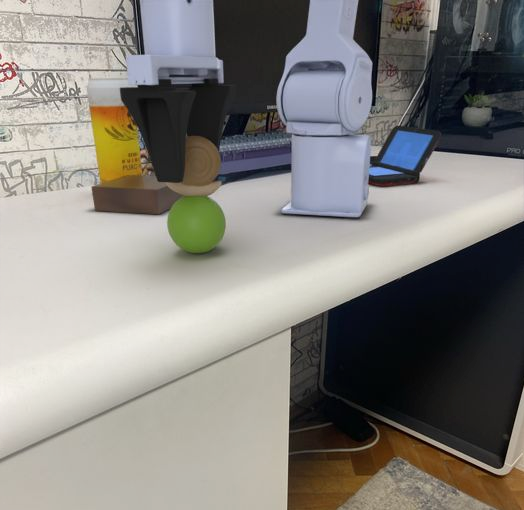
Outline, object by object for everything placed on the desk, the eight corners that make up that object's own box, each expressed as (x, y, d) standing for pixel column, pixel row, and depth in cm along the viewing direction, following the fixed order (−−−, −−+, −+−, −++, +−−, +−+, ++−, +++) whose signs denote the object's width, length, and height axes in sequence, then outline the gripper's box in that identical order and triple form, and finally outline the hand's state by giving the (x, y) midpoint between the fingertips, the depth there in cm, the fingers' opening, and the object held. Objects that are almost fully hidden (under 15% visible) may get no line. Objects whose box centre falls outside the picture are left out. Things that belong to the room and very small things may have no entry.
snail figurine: (162, 245, 53) (148, 114, 48) (226, 243, 54) (220, 113, 48) (157, 262, 48) (141, 118, 43) (227, 259, 49) (221, 117, 43)
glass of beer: (134, 197, 75) (120, 77, 68) (94, 196, 76) (76, 78, 69) (150, 189, 80) (139, 77, 73) (113, 188, 81) (98, 78, 75)
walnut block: (188, 200, 73) (187, 177, 72) (158, 214, 65) (156, 189, 64) (130, 196, 75) (127, 174, 74) (94, 210, 68) (91, 186, 66)
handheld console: (337, 175, 90) (339, 127, 87) (391, 170, 94) (395, 124, 90) (378, 187, 80) (383, 134, 76) (437, 182, 83) (444, 130, 80)
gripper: (169, 6, 49) (181, 162, 55) (77, -18, 37) (106, 186, 43) (242, 3, 47) (246, 164, 53) (171, -24, 35) (187, 190, 41)
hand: (188, 174), depth 48 cm, fingers open, 7 cm apart
